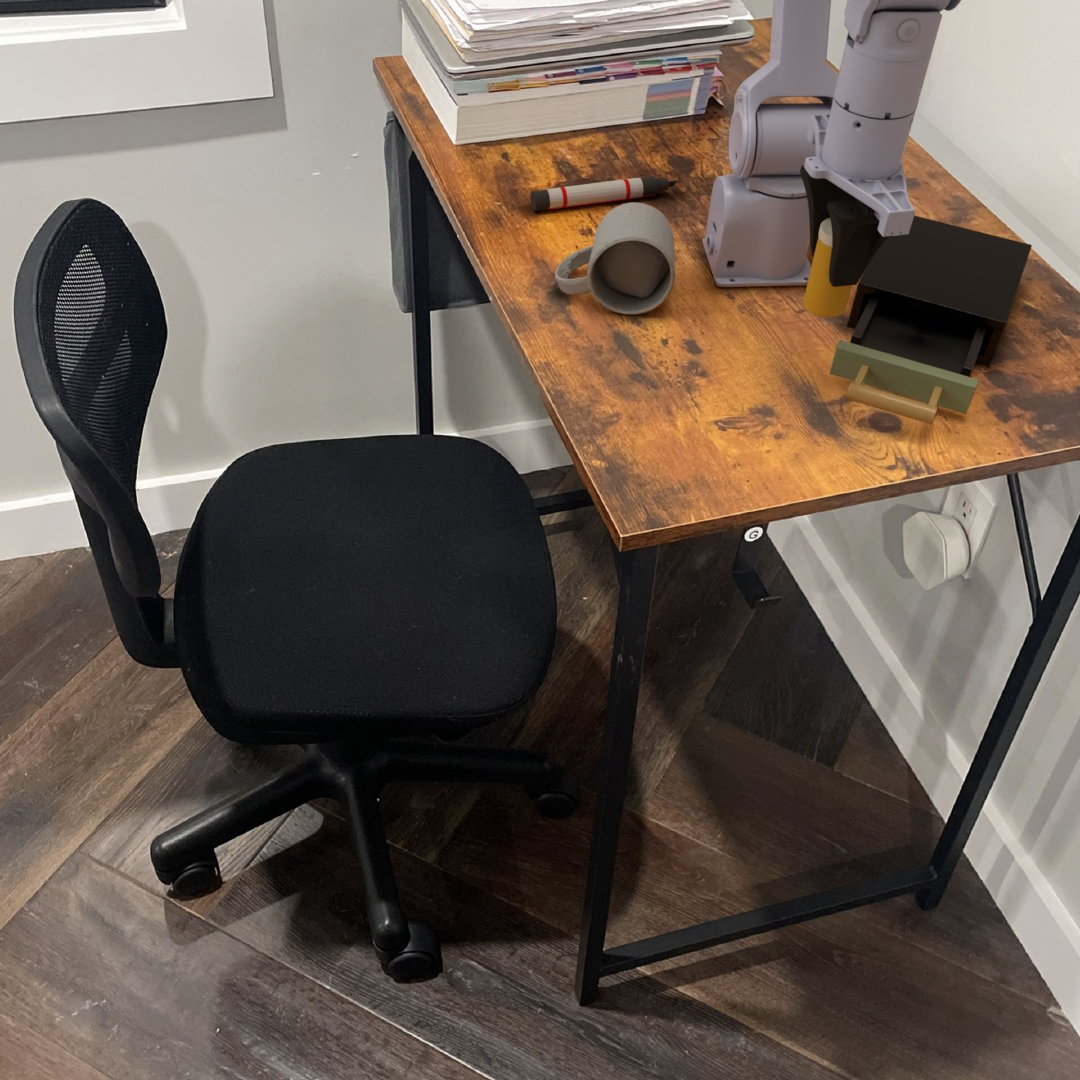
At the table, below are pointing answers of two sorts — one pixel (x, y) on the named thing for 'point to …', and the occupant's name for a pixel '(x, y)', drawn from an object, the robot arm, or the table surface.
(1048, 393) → the table surface
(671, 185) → the marker
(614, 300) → the ceramic mug
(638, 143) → the table surface
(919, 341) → the drawer
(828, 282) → the pill bottle
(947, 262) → the cabinet
